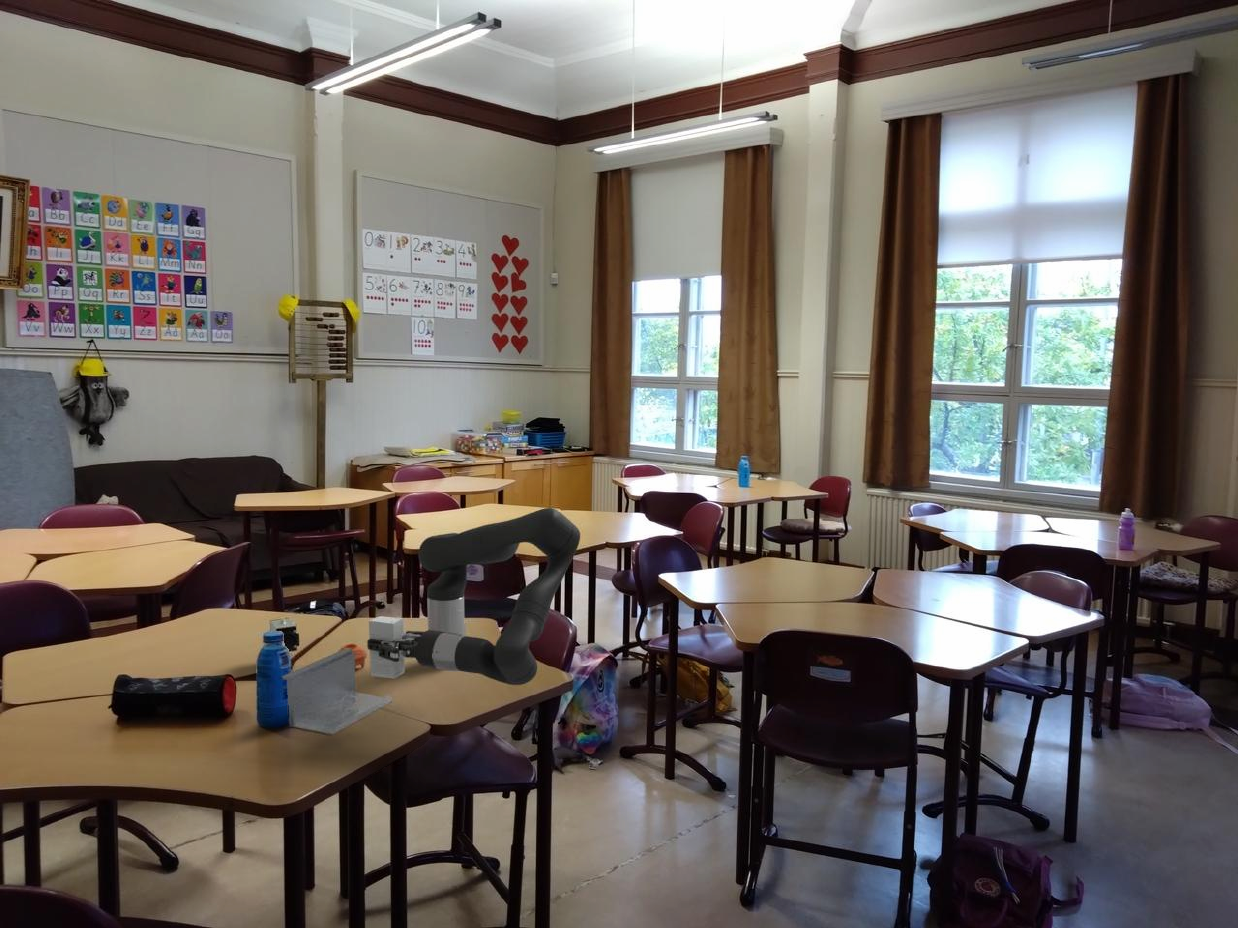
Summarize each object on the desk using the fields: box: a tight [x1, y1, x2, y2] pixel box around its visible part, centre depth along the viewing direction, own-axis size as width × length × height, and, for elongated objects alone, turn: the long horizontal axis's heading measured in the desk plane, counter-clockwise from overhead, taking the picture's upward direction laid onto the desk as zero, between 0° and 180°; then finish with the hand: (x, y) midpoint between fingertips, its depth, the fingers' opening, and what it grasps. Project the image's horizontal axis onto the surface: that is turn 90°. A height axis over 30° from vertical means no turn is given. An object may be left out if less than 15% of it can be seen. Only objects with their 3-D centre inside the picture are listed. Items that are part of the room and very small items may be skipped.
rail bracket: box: [281, 649, 393, 735], centre depth 192 cm, size 20×13×11 cm, turn 158°
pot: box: [337, 643, 368, 669], centre depth 221 cm, size 8×8×7 cm
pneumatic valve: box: [269, 617, 300, 657], centre depth 223 cm, size 6×12×12 cm, turn 32°
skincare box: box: [368, 615, 406, 679], centre depth 187 cm, size 6×4×12 cm
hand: (376, 640), depth 187 cm, fingers closed on skincare box, 4 cm apart
